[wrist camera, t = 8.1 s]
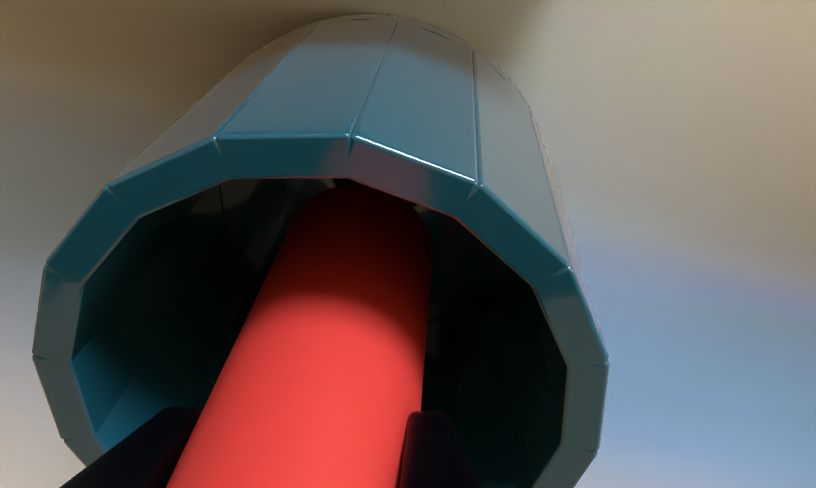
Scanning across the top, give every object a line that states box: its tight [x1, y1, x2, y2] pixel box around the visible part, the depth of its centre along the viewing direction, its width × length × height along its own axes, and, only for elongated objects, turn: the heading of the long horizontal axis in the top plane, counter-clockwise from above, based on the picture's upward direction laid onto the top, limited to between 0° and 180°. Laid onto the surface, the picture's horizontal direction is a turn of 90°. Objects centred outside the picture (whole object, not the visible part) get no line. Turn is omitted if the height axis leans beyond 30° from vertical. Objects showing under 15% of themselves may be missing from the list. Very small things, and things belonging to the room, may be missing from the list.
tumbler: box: [32, 14, 610, 488], centre depth 12 cm, size 7×7×6 cm
